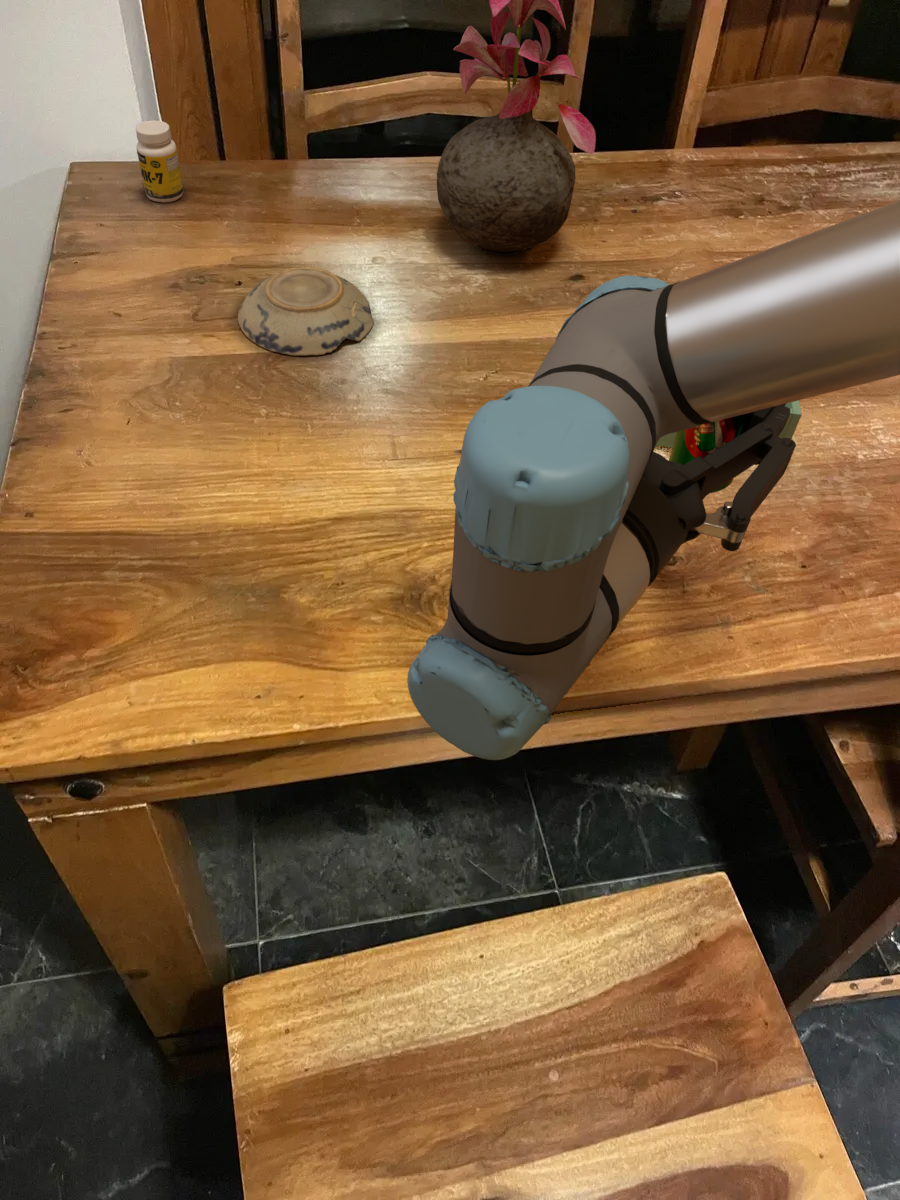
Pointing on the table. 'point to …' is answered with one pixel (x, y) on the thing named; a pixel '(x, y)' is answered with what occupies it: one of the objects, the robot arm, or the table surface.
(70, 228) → the table surface
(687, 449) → the soda can
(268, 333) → the decorative bowl
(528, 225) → the vase
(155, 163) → the supplement bottle
